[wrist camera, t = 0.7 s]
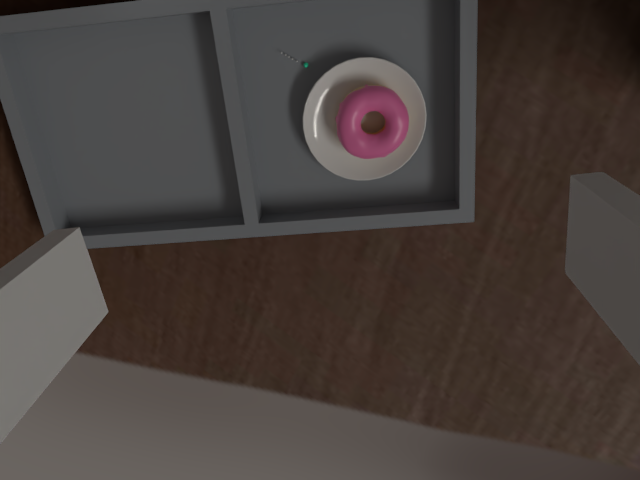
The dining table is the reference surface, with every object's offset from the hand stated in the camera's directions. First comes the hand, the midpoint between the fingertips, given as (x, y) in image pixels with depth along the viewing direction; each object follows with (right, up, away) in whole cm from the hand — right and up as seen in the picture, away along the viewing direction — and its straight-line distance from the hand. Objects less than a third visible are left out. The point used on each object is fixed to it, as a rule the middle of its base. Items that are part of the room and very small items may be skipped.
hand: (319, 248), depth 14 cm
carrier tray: (-5, +9, +22) cm, 25 cm away
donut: (+2, +9, +21) cm, 23 cm away
